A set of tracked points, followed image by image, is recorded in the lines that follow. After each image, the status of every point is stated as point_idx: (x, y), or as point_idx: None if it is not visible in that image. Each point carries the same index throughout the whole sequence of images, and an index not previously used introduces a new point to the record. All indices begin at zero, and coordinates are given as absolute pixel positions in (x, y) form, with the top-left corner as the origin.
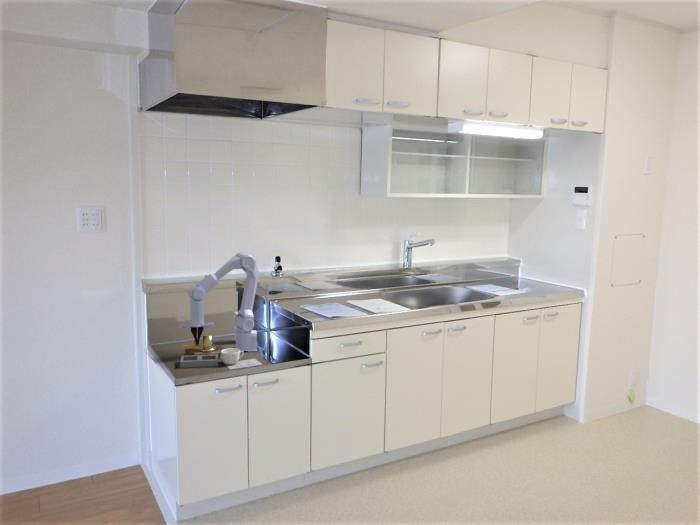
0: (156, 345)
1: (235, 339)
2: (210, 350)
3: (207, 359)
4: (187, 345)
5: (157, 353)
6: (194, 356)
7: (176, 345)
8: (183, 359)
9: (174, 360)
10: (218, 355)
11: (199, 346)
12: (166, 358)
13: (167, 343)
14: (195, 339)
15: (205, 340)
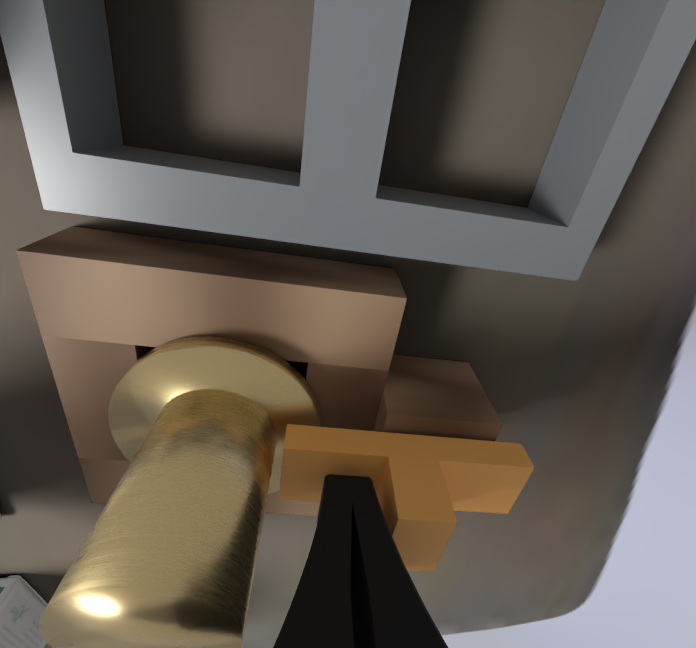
0: (563, 609)
1: (24, 621)
2: (172, 349)
3: (230, 167)
4: (466, 493)
5: (630, 498)
6: (417, 203)
7: (451, 597)
8: (591, 142)
9: (591, 307)
10: (70, 244)
11: (319, 446)
12: (630, 381)
13: (491, 624)
14: (387, 554)
15: (204, 513)
